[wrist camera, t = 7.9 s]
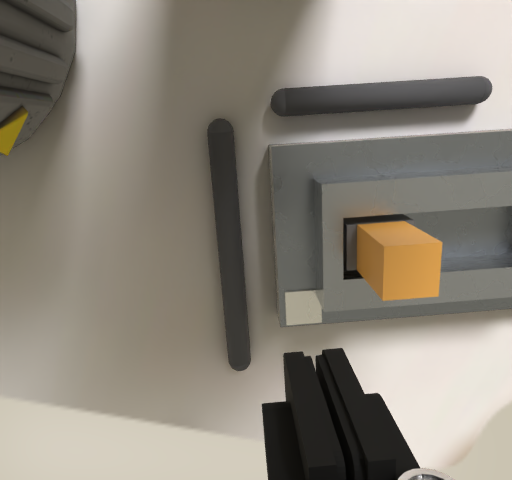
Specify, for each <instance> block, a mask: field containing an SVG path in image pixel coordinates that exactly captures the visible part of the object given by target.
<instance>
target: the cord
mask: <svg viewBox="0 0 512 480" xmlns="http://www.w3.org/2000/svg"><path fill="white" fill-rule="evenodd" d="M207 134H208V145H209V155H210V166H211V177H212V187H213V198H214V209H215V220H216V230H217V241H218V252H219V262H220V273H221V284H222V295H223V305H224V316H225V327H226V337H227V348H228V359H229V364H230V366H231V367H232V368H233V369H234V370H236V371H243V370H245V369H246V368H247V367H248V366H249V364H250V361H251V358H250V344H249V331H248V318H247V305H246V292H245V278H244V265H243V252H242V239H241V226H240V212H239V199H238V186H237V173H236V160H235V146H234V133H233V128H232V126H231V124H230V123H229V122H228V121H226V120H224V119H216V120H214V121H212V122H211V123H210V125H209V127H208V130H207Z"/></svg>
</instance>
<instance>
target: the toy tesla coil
mask: <svg viewBox="0 0 512 480" xmlns="http://www.w3.org/2000/svg"><path fill="white" fill-rule="evenodd" d="M75 29H76V0H0V155H2V154H4V155H6V156H8V155H9V153H10V150H11V149H12V148H14V147H16V146H17V145H19V144H21V143H22V142H24V141H26V140H27V139H29V138H30V136H31V135H32V134H33V133H34V131H35V130H36V129H37V128H38V126H39V125H40V124H41V123H42V121H43V120H44V119H45V117H46V116H47V115H48V114H49V112H50V111H51V109H52V108H53V106H54V104H55V102H56V101H57V100H58V98H59V97H60V96H61V93H62V90H63V87H64V84H65V81H66V78H67V75H68V72H69V69H70V66H71V63H72V60H73V57H74V54H75Z"/></svg>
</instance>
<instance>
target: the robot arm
mask: <svg viewBox="0 0 512 480" xmlns="http://www.w3.org/2000/svg"><path fill="white" fill-rule="evenodd" d="M283 357H284V376H285V393H286V402H275V403H264V404H262V413H263V426H264V438H265V450H266V462H267V472H268V480H454V479H453V478H451V477H450V476H448V475H446V474H444V473H442V472H439V471H436V470H433V469H426V468H420V467H419V465H418V463H417V461H416V459H415V457H414V456H413V454H412V452H411V450H410V448H409V446H408V445H407V443H406V441H405V439H404V437H403V435H402V433H401V432H400V430H399V428H398V426H397V424H396V422H395V421H394V419H393V417H392V415H391V413H390V411H389V410H388V408H387V406H386V404H385V402H384V400H383V398H382V397H381V396H380V394H378V393H374V394H364V392H363V390H362V388H361V386H360V383H359V381H358V379H357V377H356V375H355V373H354V371H353V369H352V367H351V365H350V363H349V361H348V359H347V357H346V355H345V352H344V350H343V349H342V348H337V349H326V350H322V355H317V356H316V371H315V368H314V364H313V361H312V358H311V356H305V357H304V354H303V352H291V353H284V356H283Z"/></svg>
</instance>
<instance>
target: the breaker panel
mask: <svg viewBox="0 0 512 480" xmlns="http://www.w3.org/2000/svg"><path fill="white" fill-rule="evenodd" d="M269 160H270V179H271V198H272V217H273V236H274V255H275V275H276V294H277V313H278V318H279V323H280V327H289V326H301V325H314V324H326V323H339V322H351V321H364V320H376V319H389V318H401V317H414V316H426V315H439V314H451V313H464V312H476V311H489V310H501V309H512V129H503V130H488V131H473V132H458V133H443V134H428V135H413V136H398V137H383V138H368V139H353V140H338V141H323V142H308V143H293V144H278V145H269ZM392 214H404V215H406V216H408V217H410V218H411V219H413V220H415V227H416V228H418V229H420V230H421V231H423V232H425V233H427V234H429V235H430V236H432V237H434V238H436V239H437V240H439V241H441V242H442V256H441V270H440V284H439V296H438V297H426V298H413V299H400V300H388V301H382V299H381V298H380V297H379V296H378V295H377V293H376V292H375V291H374V290H373V289H372V288H371V286H370V285H369V284H368V283H367V282H366V280H365V279H364V278H363V277H362V276H361V274H360V273H359V272H358V271H357V270H349V271H347V270H346V269H345V268H344V266H343V218H350V217H364V216H378V215H392Z"/></svg>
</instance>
